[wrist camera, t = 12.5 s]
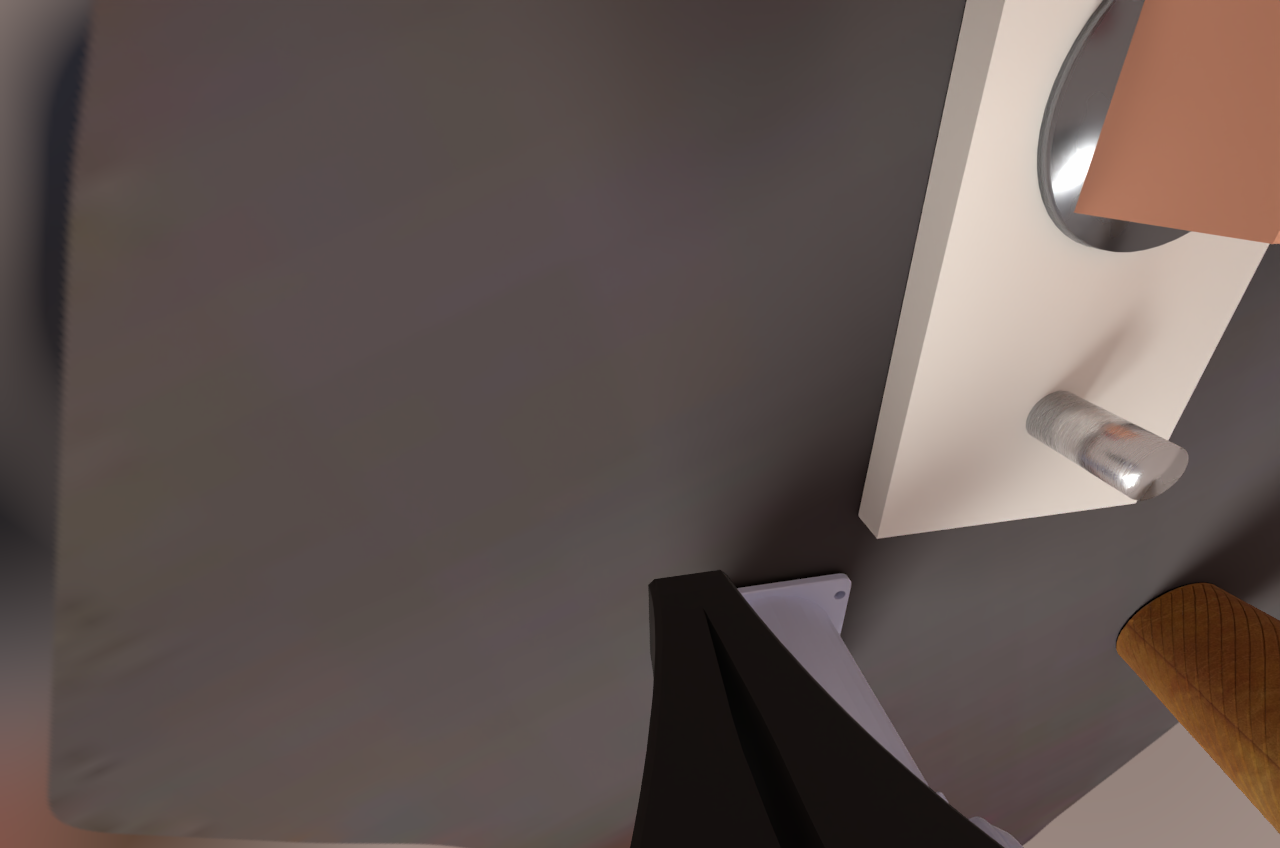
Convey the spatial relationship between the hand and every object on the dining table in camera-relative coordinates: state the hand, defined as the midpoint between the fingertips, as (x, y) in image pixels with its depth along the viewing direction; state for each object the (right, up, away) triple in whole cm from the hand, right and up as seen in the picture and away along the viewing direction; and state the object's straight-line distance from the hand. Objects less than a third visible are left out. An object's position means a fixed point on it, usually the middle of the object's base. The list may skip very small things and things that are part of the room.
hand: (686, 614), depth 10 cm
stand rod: (+14, +4, +10) cm, 18 cm away
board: (+14, +9, +9) cm, 19 cm away
